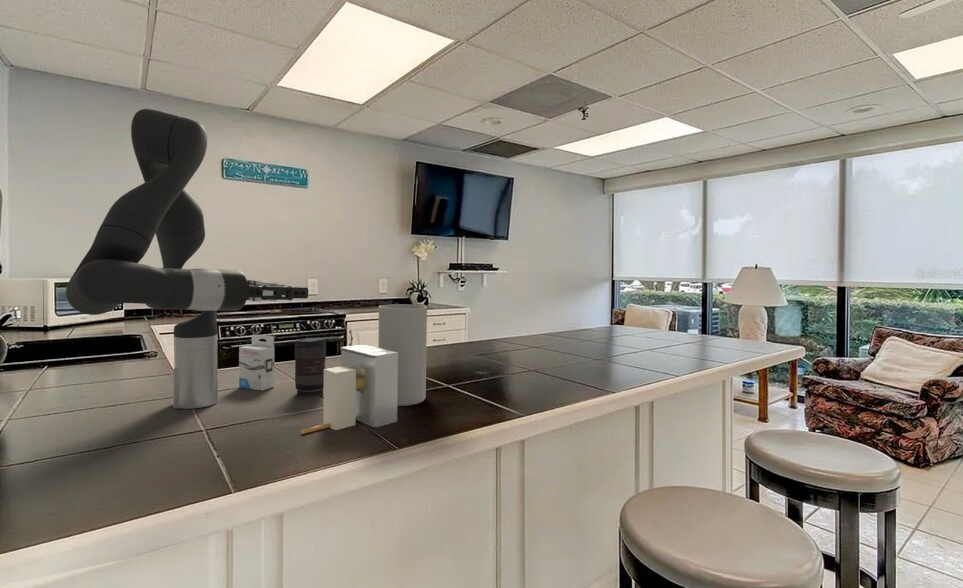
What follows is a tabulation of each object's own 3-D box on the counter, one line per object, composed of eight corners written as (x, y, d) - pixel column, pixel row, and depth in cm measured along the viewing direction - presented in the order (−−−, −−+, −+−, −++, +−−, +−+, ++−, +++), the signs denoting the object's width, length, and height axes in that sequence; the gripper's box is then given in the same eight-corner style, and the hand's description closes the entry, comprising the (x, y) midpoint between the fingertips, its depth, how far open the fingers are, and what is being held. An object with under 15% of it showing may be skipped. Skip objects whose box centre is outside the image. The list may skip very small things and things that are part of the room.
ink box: (238, 388, 136) (237, 336, 135) (251, 384, 140) (251, 334, 139) (262, 391, 133) (261, 338, 132) (275, 387, 137) (275, 336, 137)
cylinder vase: (368, 399, 127) (369, 305, 125) (405, 391, 136) (407, 303, 135) (397, 410, 118) (398, 309, 117) (435, 400, 127) (436, 307, 126)
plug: (306, 437, 98) (306, 377, 98) (295, 431, 102) (295, 373, 101) (392, 415, 114) (392, 363, 113) (379, 410, 117) (380, 360, 117)
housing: (372, 428, 105) (373, 355, 104) (338, 413, 114) (339, 347, 113) (397, 421, 110) (397, 352, 109) (362, 408, 119) (363, 344, 118)
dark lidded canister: (330, 390, 135) (330, 337, 135) (318, 397, 127) (318, 342, 127) (303, 388, 136) (303, 336, 135) (289, 396, 128) (289, 340, 127)
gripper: (232, 270, 82) (316, 275, 95) (197, 267, 91) (278, 271, 103) (230, 314, 82) (314, 312, 95) (195, 307, 91) (277, 306, 104)
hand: (295, 291), depth 99 cm, fingers open, 8 cm apart
